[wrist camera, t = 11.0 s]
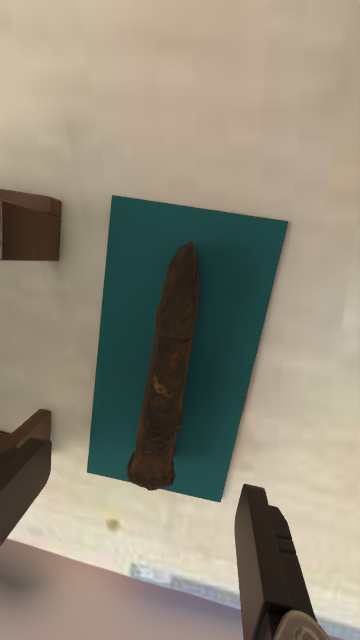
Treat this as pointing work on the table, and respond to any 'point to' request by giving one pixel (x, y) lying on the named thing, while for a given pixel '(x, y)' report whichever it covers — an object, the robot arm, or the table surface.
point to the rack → (28, 245)
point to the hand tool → (167, 374)
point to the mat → (208, 340)
